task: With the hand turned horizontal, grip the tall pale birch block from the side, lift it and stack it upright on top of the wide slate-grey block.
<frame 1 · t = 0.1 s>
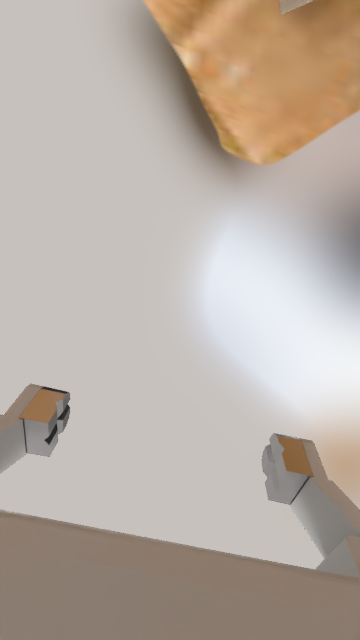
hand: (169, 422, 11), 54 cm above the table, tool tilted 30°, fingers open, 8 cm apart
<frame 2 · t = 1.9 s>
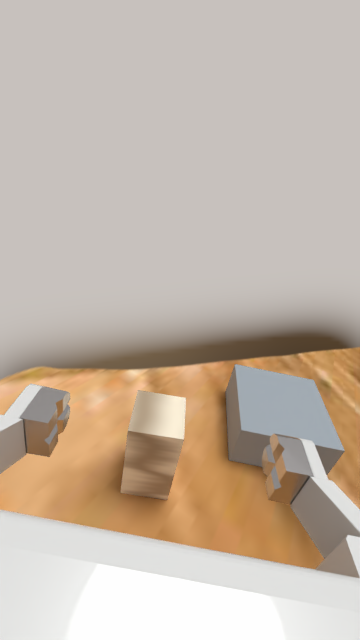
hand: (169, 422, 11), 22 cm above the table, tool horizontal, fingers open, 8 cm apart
birch block: (147, 473, 33), on the table
slate block: (267, 431, 41), on the table
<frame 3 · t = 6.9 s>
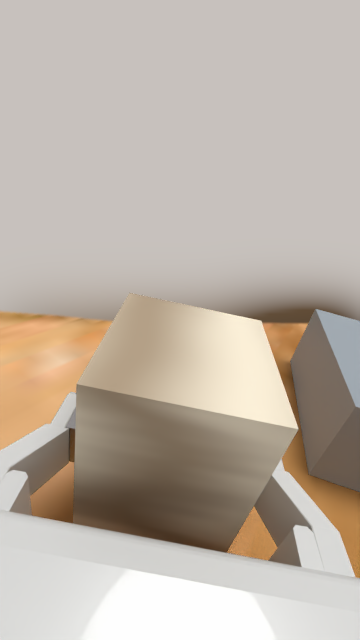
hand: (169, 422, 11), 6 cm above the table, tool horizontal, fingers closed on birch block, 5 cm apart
birch block: (146, 519, 13), on the table, touching gripper
when the fingers open (13 cm above the table, at t = 12.3 s): birch block drops 2 cm, resting on slate block.
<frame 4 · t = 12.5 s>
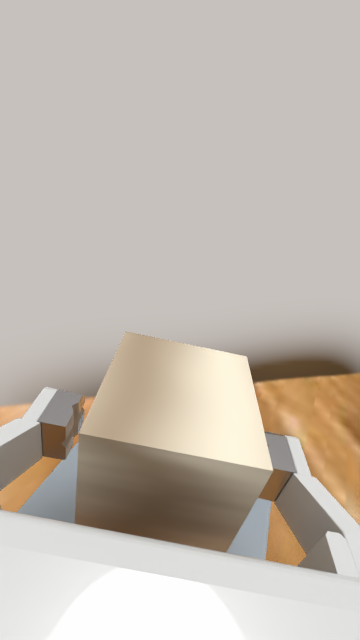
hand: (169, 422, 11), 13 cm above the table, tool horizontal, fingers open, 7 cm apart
birch block: (141, 538, 14), point 6 cm above the table, touching slate block
slate block: (128, 586, 17), on the table, touching birch block
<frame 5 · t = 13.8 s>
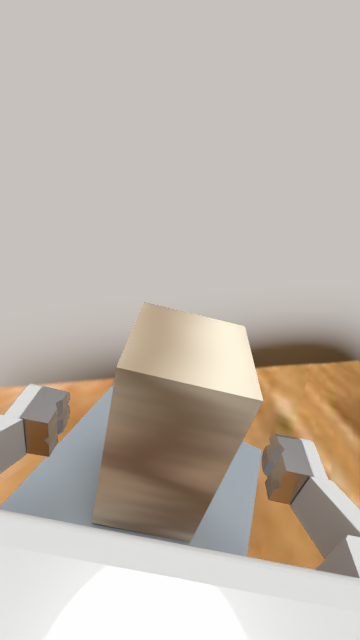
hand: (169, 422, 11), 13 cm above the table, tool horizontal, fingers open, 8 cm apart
birch block: (149, 483, 17), point 6 cm above the table, touching slate block
slate block: (134, 537, 19), on the table, touching birch block
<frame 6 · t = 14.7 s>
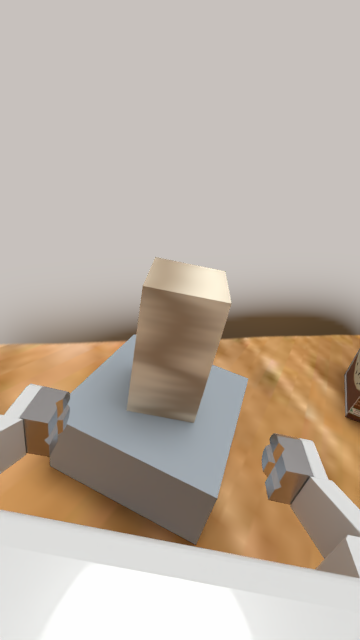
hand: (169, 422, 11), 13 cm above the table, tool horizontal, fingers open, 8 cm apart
birch block: (164, 392, 23), point 6 cm above the table, touching slate block
slate block: (153, 442, 26), on the table, touching birch block
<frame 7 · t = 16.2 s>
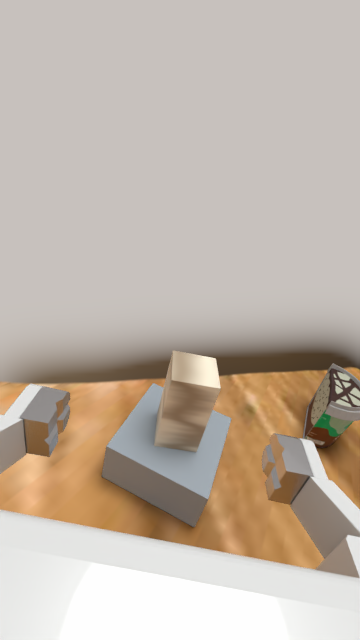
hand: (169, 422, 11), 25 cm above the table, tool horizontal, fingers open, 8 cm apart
food container: (322, 433, 49), on the table
birch block: (175, 431, 36), point 6 cm above the table
slate block: (166, 460, 39), on the table
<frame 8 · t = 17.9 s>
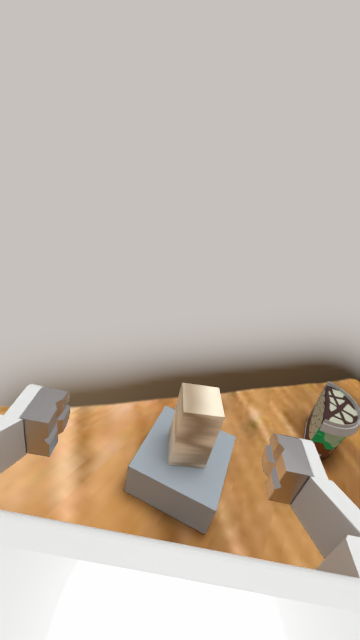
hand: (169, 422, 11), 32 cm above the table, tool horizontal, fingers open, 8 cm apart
food container: (319, 445, 54), on the table
birch block: (185, 450, 41), point 6 cm above the table, touching slate block
slate block: (179, 475, 44), on the table, touching birch block
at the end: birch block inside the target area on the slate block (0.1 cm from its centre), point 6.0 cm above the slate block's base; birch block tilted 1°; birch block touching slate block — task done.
